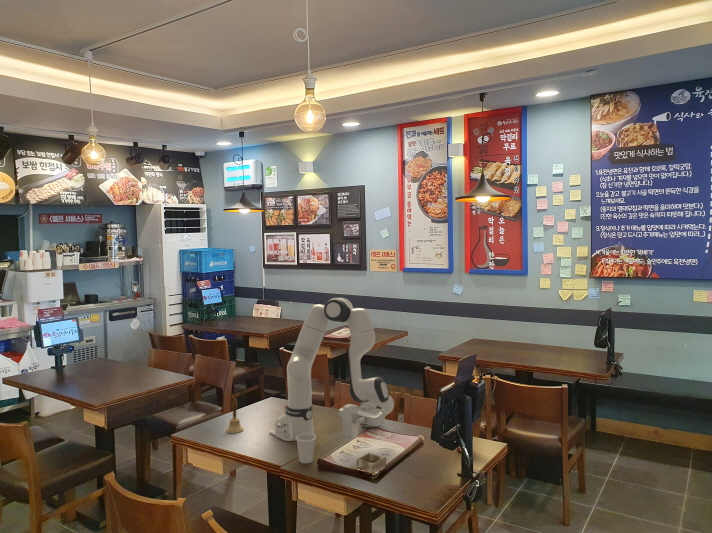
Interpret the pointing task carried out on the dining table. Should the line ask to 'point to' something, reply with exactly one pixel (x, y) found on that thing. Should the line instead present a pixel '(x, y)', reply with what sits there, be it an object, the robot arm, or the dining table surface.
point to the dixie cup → (306, 447)
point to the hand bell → (234, 420)
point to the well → (371, 463)
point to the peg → (350, 421)
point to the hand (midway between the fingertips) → (349, 420)
